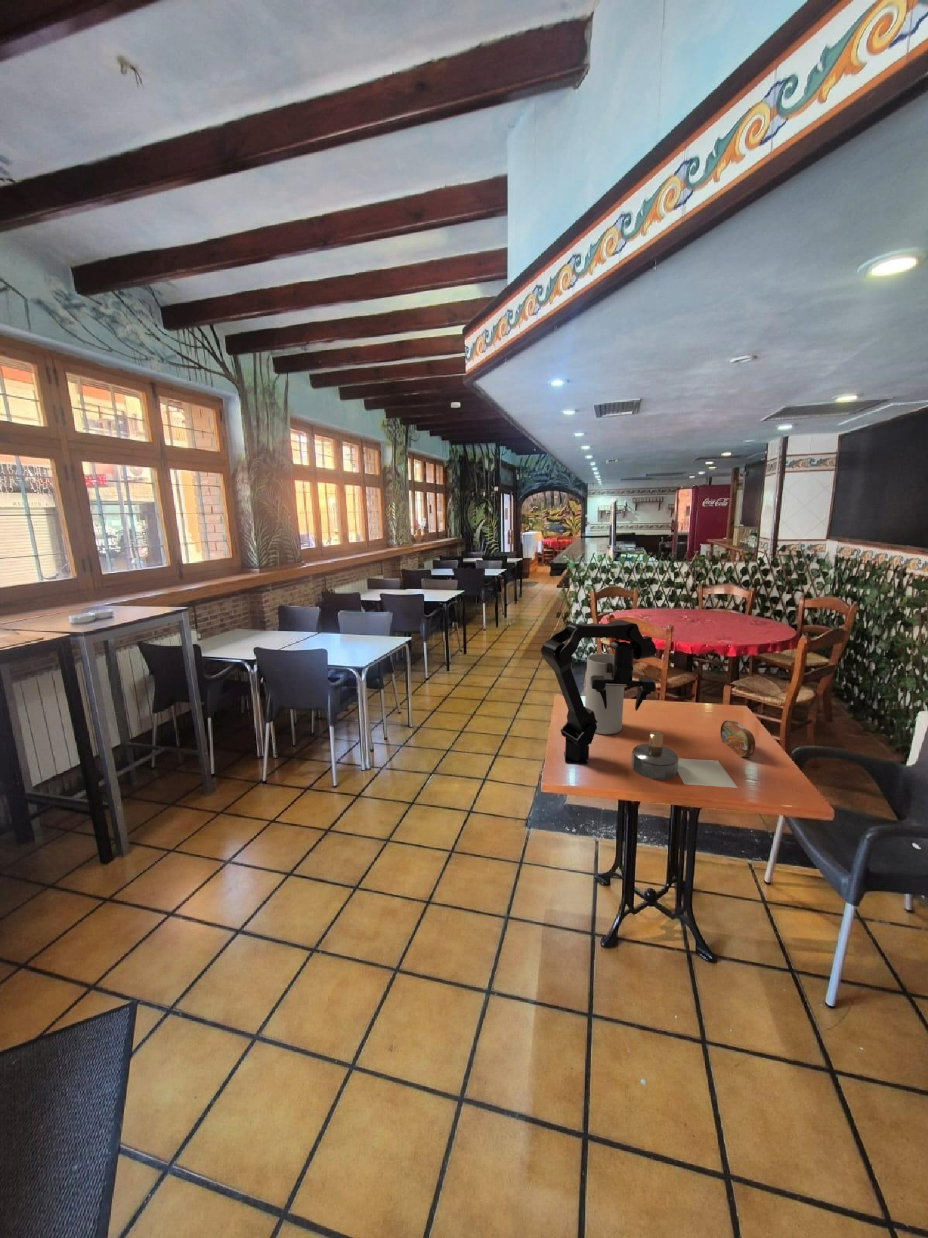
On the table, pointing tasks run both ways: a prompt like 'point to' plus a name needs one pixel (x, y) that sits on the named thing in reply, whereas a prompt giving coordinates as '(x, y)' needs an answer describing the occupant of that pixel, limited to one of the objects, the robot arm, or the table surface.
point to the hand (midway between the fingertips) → (620, 709)
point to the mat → (703, 773)
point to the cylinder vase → (613, 714)
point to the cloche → (654, 759)
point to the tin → (738, 738)
